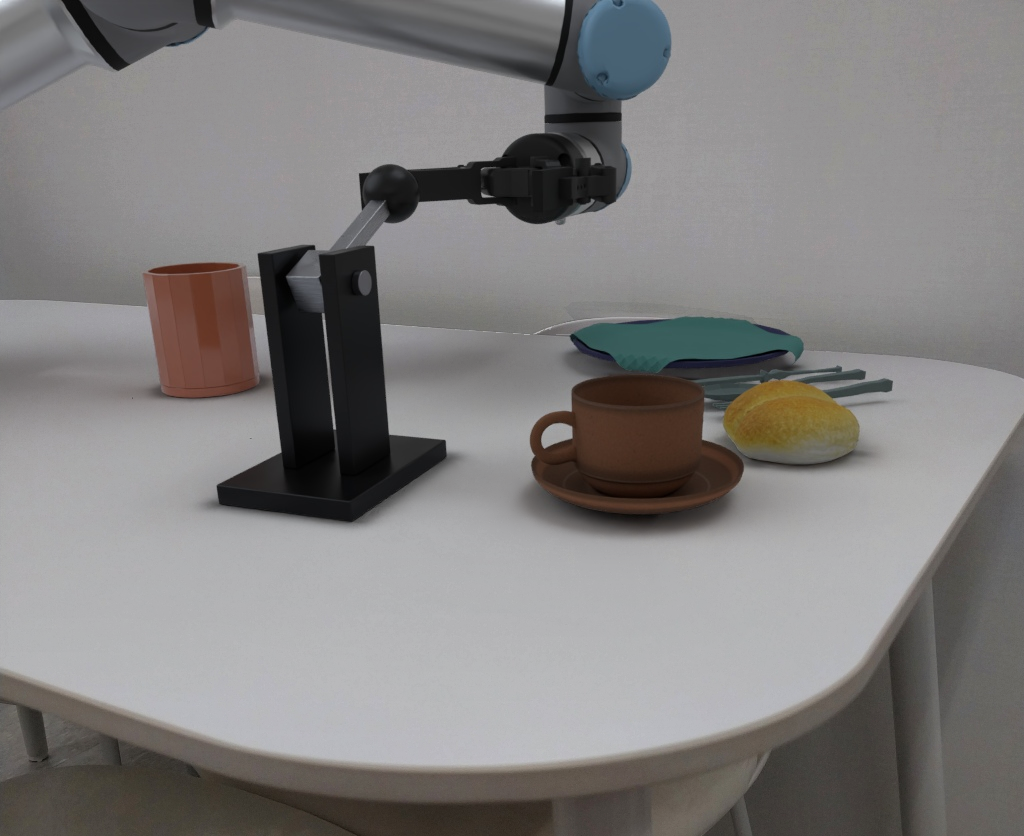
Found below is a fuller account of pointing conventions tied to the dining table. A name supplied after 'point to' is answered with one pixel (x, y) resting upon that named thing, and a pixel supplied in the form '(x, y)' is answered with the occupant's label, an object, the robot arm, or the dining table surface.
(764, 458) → the bread roll
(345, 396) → the black stand
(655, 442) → the cup and saucer
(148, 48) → the robot arm
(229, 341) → the cup
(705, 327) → the cutlery set
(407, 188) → the lever
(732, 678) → the dining table surface
